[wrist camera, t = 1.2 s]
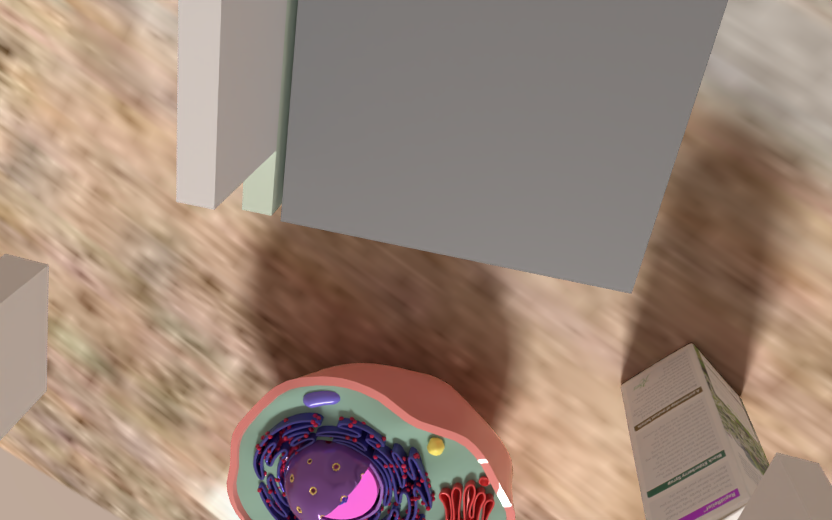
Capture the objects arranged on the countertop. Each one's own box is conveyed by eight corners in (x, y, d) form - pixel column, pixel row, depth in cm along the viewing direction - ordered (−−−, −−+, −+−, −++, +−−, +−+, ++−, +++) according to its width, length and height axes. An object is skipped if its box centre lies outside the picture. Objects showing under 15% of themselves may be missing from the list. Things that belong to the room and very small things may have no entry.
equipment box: (689, -150, 36) (788, -183, 22) (600, 163, 43) (631, 293, 29) (404, -198, 37) (318, -260, 22) (364, 116, 44) (280, 221, 30)
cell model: (401, 558, 59) (372, 694, 49) (220, 388, 54) (147, 499, 44) (576, 464, 53) (585, 597, 42) (387, 261, 48) (346, 357, 38)
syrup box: (616, 384, 49) (643, 556, 36) (694, 337, 47) (753, 503, 34) (668, 440, 51) (712, 625, 38) (746, 397, 48) (822, 579, 35)
